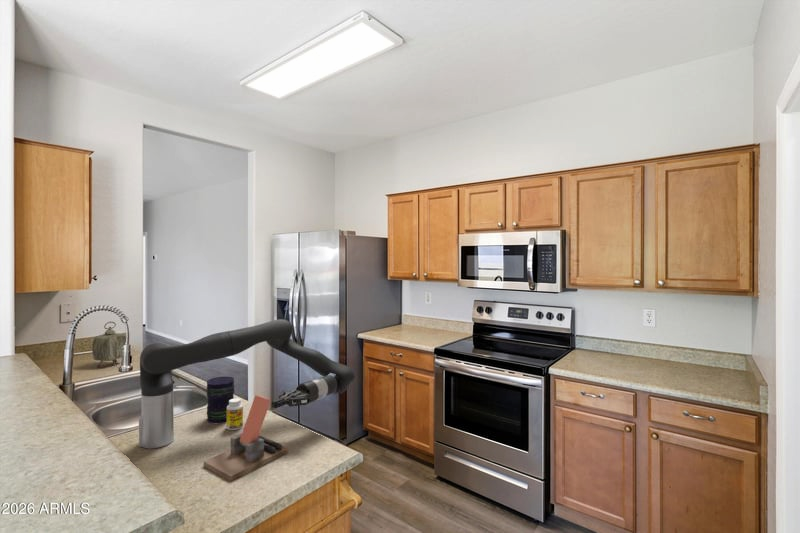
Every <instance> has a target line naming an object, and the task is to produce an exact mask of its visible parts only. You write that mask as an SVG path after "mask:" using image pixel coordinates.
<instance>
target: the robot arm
mask: <svg viewBox="0 0 800 533" xmlns="http://www.w3.org/2000/svg"><path fill="white" fill-rule="evenodd" d="M293 326H294V325H293V324H292V323H291V321H289V320H286V319H284V318H283V319H282V318H281V319H280V318H279V319H274V320H271V321H268V322H264V323H261V324H257V325H253V326H247V327H244V328H238V329H233V330H226V331H222V332H218V333H213V334H209V335H206V336H204V337H202V338H199V339H197V340H195V341H193V342H189V343H188V342H187V343H185V344H177V345H169V346H168V345H167V344H165V343H162V342H154V343H151V344H149V345H146V346H145V348H143V349H142V350H141V352H140V356H139V377H140V378H139V379H140V381H139V382H140V393H141V394H140V395H141V396H140V397H141V402H140V404H141V415H140V417H139V418H138V447H140V448H144V449H149V450H150V449H157V448H162V447H165V446H168V445H170V444H171V443H172V442H173V441H174V440H175V435H174V434H175V432H174V431H175V429H174V428H175V427H174V425H175V424H174V423H175V422H174V421H175V419H174V418H175V417H174V415H175V414H174V413H175V412H174V381H173V380H174V379H173V372H172V371H174V370H177V369H180V368H184V367H186V366H189V365H193V364H200V363H204V362H209V361H215V360H220V359H224V358H228V357H233V356H236V355H238V354H240V353H242V352H244V351H247V350H249V349H250V348H251V347H253V346H256V345H259V344H261V343H265V342H266V343H267V344H268V346H269V347H271V348H273V349H275V350H277V351H279V352H281V353H282V354H285V355H287V356H289V357H291V358H293V359H295V360H297V361H299V362H300V363H302V364H304V365H306V366H308V367H309V368H310V369H312V370H313V371H314V372H316V373H317V374H319V375H320V376H321V377H318V378H313V379H310V380H307V381H305V382H301V383H300V384H298V385H297V387H296V389H292V390H290V391H288V392H287V391H286V390H284V389H283V390H281V392H280V393H279V394H278V399H275V400H271V408H272V409H278V408H281V407H286V406H288V407H297V406H298V407H299V406H306V405H309V404H310V403H311V404H312V403H313V402H315V401H318V400H321V399H323V398H324V397H327V396H329V395H331V394H332V395H333V394H334V395H335V394H342V393H344V392H346V391H347V390H348V388H349V387H350V386H351V384H352V383H353V381H354V380H355V378H356V374H355V370H353V368H352V367H350V366H348V365H345V364H343V363H340V362H338V361H335V360H332V359H331V358H329V357H327V356H326V355H325V354H324V353H321V352H320V351H318V350H316V349H313V348H309V347H305V346H303V345H301V344H298V343H297V342H296V341H294V340H293V339H292V338H291V336H292V334H293V332H294V327H293ZM330 374H334V376H333V375H330Z"/></svg>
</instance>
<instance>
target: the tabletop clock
mask: <svg viewBox="0 0 800 533" xmlns="http://www.w3.org/2000/svg"><path fill="white" fill-rule="evenodd" d="M108 324H114V325H113V326H108V327H106V326H107V325H108ZM116 326H117V324H116V323H115V322H114V321H107V322H106V323H105V324H104V326H103V327H104V329H105V332H104V333H102V334H99V335H96V336H95V337H93V340H92V347H91V349H92V350H91V352H92V358H93V360H94V361H100V362H99V363H98V364H97V365H96V368H98V369H99V368H100V367H101V364H102V363H104V362H110V361H112V366H114V367H115V366H116V365H117V364H116V363H117V362H118V359H121V358H123V357H122V347H123V346H124V345H125V342H126V339H127V336H126V335H125V334H123V333H116V331H115V330H114V328H115V327H116Z"/></svg>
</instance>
